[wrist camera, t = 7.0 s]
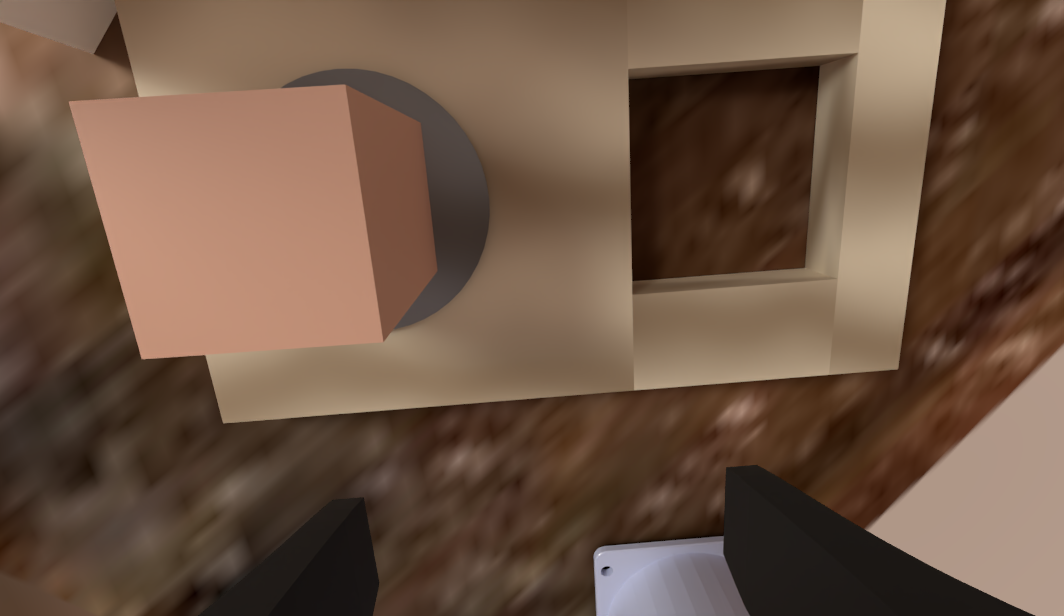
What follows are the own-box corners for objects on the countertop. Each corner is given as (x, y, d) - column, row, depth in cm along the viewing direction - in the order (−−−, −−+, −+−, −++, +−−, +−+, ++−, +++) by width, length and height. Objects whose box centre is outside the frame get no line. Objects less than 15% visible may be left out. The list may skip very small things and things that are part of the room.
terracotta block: (437, 271, 16) (383, 342, 10) (297, 280, 16) (141, 359, 9) (421, 123, 15) (345, 84, 8) (268, 132, 15) (68, 101, 8)
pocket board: (861, 349, 20) (904, 372, 18) (251, 398, 20) (218, 427, 17) (905, -58, 16) (966, -94, 14) (155, -8, 16) (97, -36, 14)
